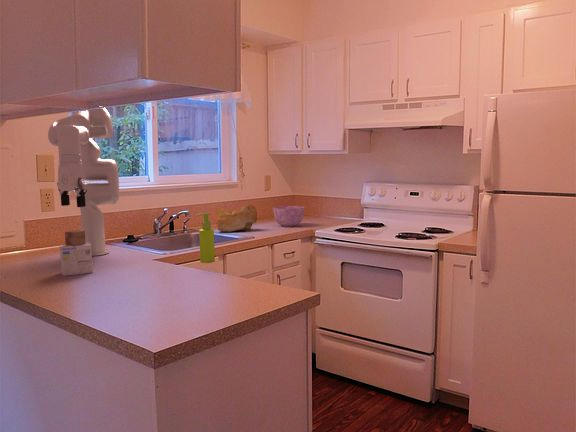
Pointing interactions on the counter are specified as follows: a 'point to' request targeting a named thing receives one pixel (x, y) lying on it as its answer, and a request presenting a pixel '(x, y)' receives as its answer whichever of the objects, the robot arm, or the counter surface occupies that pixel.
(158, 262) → the counter surface
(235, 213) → the rough brown rock
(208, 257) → the soap dispenser
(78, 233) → the walnut cube
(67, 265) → the light bulb box
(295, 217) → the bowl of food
